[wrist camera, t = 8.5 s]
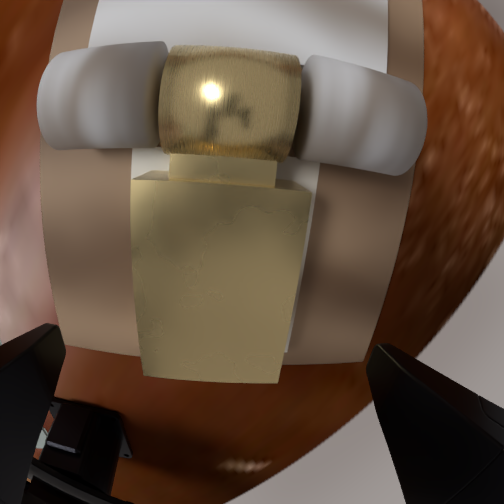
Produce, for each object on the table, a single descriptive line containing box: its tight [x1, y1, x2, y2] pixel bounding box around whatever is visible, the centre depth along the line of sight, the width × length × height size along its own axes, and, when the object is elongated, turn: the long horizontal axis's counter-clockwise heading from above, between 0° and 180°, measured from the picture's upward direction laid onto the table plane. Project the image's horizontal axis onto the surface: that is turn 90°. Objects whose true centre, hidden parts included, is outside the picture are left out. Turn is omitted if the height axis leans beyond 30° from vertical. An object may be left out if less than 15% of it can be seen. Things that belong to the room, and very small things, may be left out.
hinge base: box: [37, 0, 427, 365], centre depth 10 cm, size 24×18×5 cm
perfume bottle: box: [130, 45, 312, 383], centre depth 11 cm, size 13×6×4 cm, turn 174°
